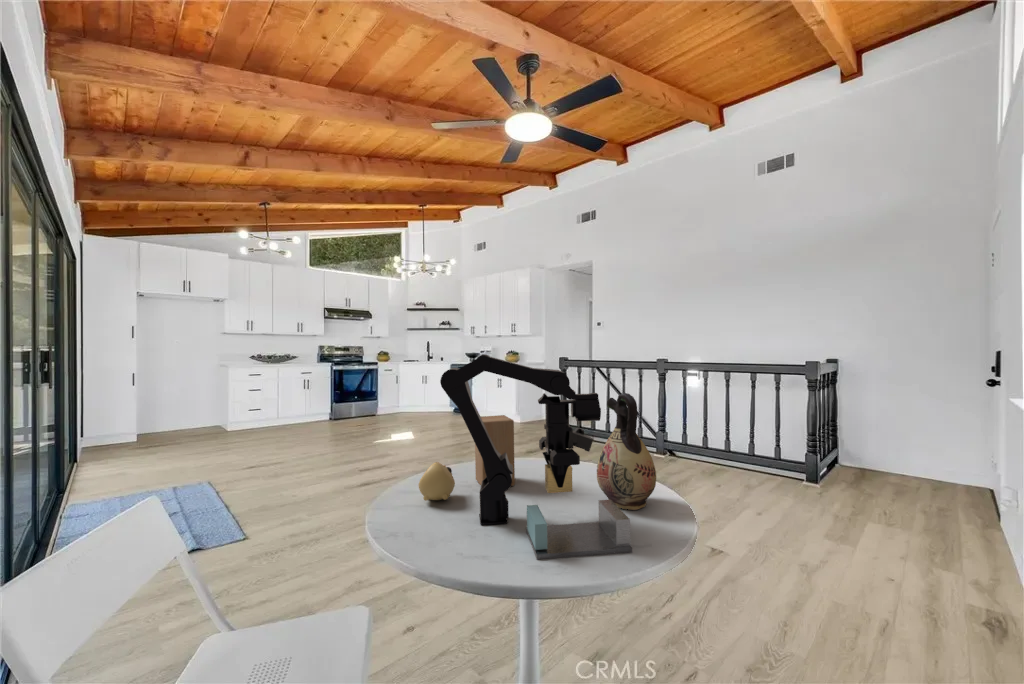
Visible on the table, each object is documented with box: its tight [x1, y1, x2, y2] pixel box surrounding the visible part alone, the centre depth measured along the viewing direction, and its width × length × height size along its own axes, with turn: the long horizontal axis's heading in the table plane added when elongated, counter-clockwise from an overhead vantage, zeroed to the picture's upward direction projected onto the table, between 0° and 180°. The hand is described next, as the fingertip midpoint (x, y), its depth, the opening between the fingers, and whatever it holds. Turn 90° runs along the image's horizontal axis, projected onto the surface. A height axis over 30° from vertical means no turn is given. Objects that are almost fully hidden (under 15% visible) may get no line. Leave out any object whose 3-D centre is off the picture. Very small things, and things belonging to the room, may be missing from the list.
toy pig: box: [418, 461, 456, 502], centre depth 130 cm, size 10×12×11 cm
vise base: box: [525, 499, 633, 561], centre depth 103 cm, size 20×14×6 cm
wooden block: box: [474, 414, 516, 487], centre depth 144 cm, size 10×10×20 cm
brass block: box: [544, 463, 573, 494], centre depth 115 cm, size 4×6×6 cm, turn 97°
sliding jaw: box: [526, 504, 548, 550], centre depth 101 cm, size 2×11×5 cm, turn 7°
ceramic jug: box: [596, 392, 657, 511], centre depth 124 cm, size 17×15×30 cm
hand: (558, 484), depth 115 cm, fingers closed on brass block, 3 cm apart
